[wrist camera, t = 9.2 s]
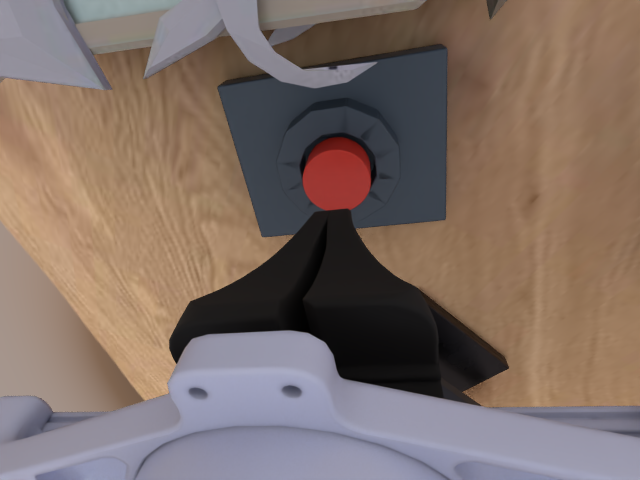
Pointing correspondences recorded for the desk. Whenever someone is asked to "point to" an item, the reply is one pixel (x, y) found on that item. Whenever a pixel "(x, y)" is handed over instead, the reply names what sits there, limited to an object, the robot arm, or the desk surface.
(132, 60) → the desk surface
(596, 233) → the desk surface
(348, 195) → the power button
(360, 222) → the switch box
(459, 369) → the monitor stand
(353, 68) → the ornate book
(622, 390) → the desk surface
